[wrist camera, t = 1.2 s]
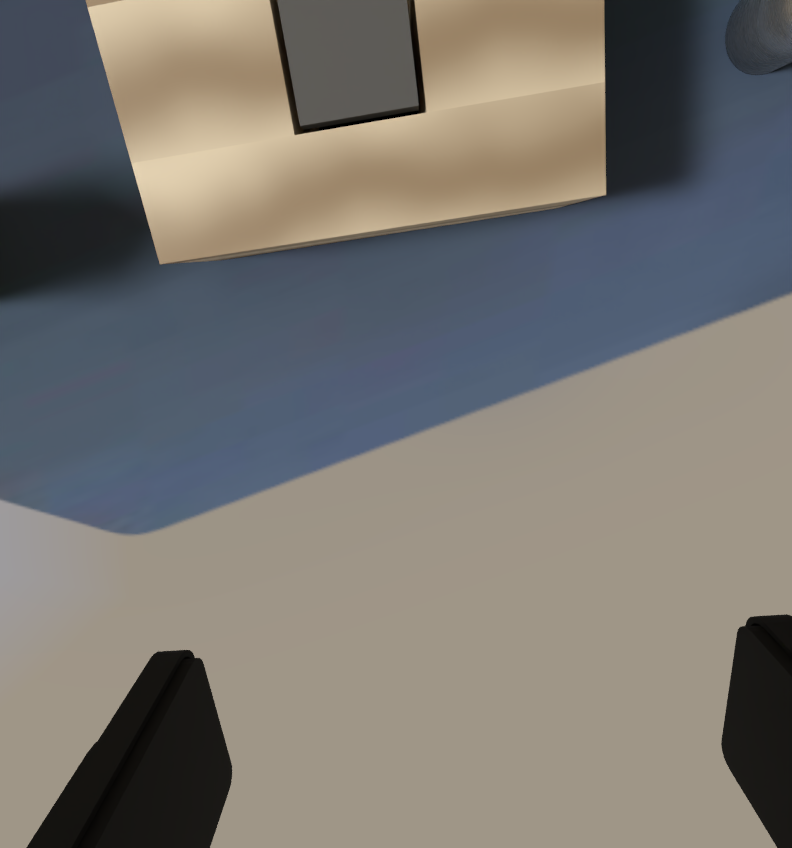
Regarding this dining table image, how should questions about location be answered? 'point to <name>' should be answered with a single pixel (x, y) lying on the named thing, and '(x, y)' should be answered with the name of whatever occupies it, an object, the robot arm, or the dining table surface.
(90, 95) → the dining table surface
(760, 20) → the peg
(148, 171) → the socket block
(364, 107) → the gray square panel
